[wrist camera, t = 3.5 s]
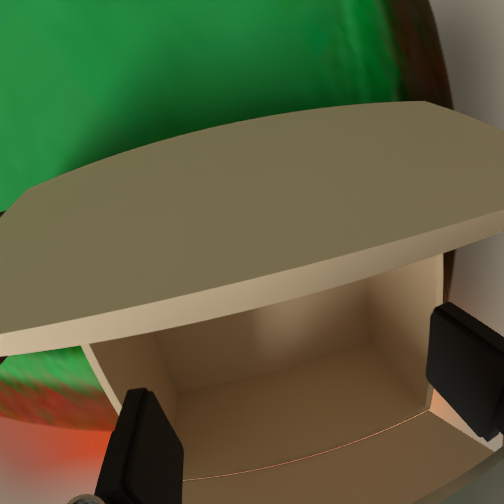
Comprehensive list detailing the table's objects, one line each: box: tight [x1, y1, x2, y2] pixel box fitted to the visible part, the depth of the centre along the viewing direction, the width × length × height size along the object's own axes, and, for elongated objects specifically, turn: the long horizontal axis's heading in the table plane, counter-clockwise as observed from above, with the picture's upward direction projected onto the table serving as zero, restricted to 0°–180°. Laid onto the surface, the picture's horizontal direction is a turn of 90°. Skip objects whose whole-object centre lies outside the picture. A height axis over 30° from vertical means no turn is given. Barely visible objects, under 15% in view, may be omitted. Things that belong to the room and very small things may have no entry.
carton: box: [81, 253, 443, 480], centre depth 22 cm, size 22×22×12 cm
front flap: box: [0, 101, 504, 357], centre depth 9 cm, size 11×22×1 cm
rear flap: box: [182, 411, 494, 504], centre depth 14 cm, size 11×22×1 cm
